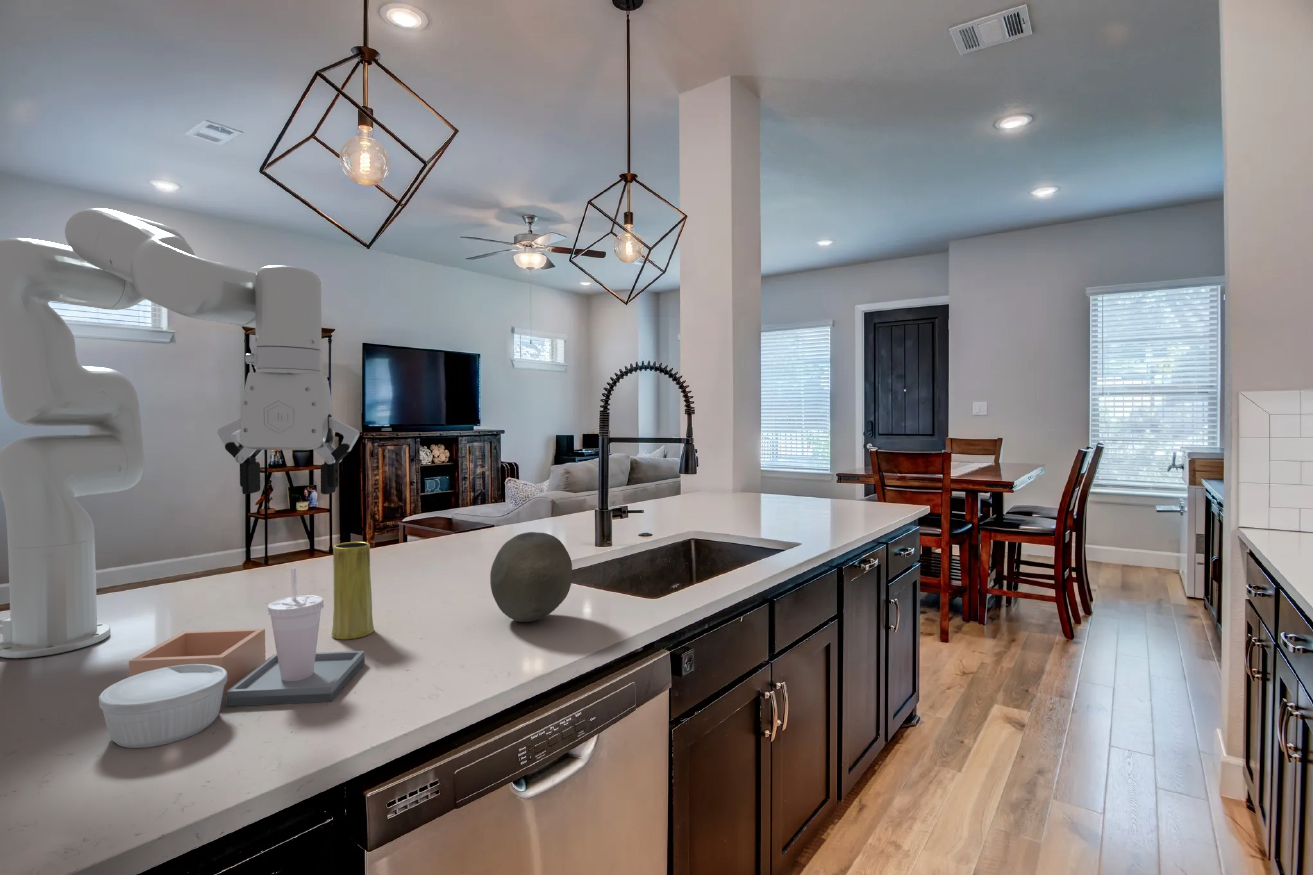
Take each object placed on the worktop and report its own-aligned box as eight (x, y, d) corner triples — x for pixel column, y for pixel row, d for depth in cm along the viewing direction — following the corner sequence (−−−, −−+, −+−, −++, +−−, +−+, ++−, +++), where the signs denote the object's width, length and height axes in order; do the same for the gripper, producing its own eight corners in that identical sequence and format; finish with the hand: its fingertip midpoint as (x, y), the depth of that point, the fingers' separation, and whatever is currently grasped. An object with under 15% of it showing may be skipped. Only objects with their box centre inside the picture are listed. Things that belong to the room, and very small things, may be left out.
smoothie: (312, 662, 87) (310, 560, 87) (333, 674, 83) (332, 567, 83) (260, 676, 82) (258, 569, 82) (280, 690, 78) (278, 577, 78)
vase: (357, 641, 98) (356, 549, 98) (322, 638, 99) (321, 547, 99) (381, 628, 104) (380, 541, 104) (348, 625, 105) (347, 540, 105)
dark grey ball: (472, 630, 103) (471, 538, 103) (516, 605, 117) (516, 524, 116) (551, 639, 99) (550, 544, 99) (587, 612, 113) (587, 528, 112)
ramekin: (248, 705, 77) (248, 662, 77) (183, 754, 66) (182, 704, 66) (153, 706, 77) (152, 662, 76) (71, 755, 65) (70, 705, 65)
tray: (226, 706, 76) (225, 691, 76) (274, 666, 88) (273, 654, 88) (331, 701, 78) (331, 686, 78) (364, 663, 90) (364, 650, 90)
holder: (130, 701, 78) (128, 660, 77) (184, 667, 88) (183, 631, 88) (223, 697, 79) (222, 657, 79) (265, 663, 89) (264, 628, 89)
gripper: (201, 359, 79) (203, 496, 80) (347, 363, 81) (347, 497, 82) (235, 364, 87) (236, 489, 87) (367, 367, 88) (367, 489, 89)
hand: (290, 493), depth 84 cm, fingers open, 9 cm apart
